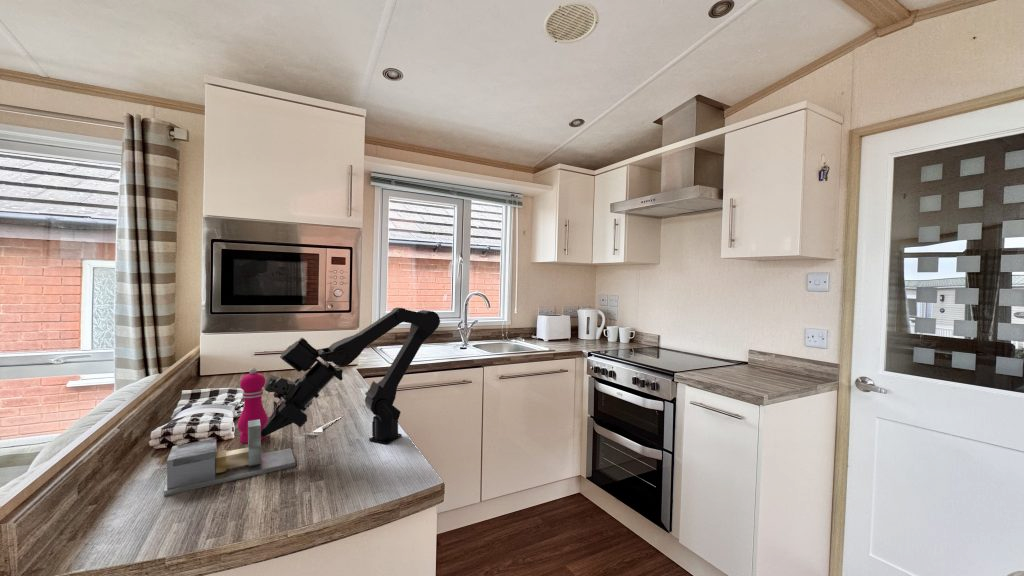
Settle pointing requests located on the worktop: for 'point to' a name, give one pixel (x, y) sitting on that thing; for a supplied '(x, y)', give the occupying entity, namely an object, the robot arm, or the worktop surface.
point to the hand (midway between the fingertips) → (261, 435)
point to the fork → (322, 427)
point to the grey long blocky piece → (214, 466)
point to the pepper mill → (252, 403)
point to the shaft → (242, 451)
